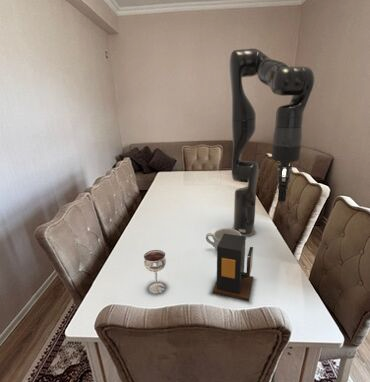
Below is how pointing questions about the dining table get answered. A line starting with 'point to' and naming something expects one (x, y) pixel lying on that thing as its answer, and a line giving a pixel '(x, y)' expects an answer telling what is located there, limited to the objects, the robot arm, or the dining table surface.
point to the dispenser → (232, 268)
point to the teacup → (220, 235)
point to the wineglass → (155, 267)
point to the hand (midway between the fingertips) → (281, 200)
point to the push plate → (249, 262)
